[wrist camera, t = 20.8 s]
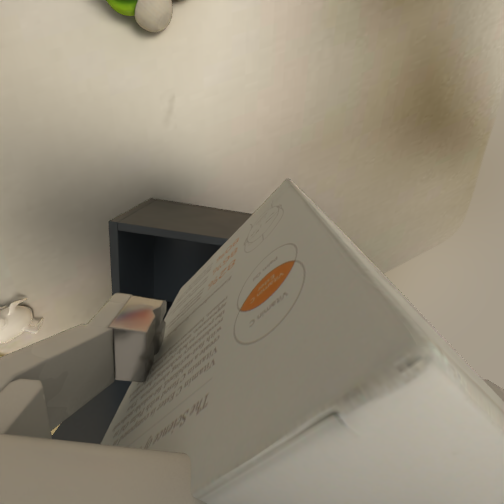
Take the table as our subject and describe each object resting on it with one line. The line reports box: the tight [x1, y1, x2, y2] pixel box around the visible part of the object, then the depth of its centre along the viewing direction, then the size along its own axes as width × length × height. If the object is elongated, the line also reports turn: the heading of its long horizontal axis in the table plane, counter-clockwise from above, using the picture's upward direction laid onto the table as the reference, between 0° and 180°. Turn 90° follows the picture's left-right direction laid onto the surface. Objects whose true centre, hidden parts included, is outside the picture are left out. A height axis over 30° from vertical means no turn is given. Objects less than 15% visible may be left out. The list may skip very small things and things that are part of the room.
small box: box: [101, 179, 504, 504], centre depth 9 cm, size 8×6×10 cm
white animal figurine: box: [0, 298, 43, 343], centre depth 36 cm, size 5×5×8 cm
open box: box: [109, 198, 252, 320], centre depth 32 cm, size 16×14×11 cm
